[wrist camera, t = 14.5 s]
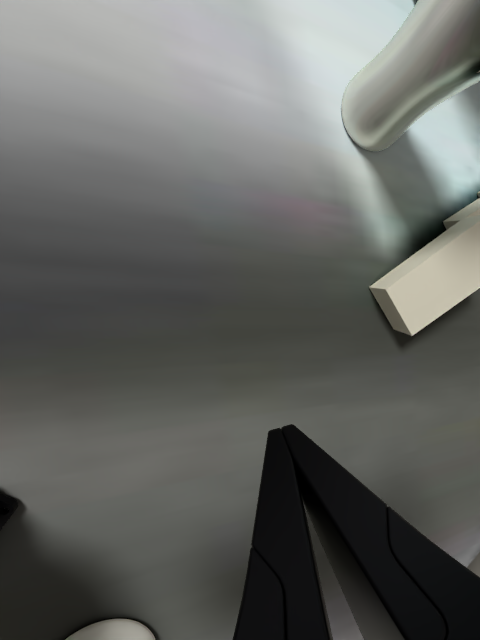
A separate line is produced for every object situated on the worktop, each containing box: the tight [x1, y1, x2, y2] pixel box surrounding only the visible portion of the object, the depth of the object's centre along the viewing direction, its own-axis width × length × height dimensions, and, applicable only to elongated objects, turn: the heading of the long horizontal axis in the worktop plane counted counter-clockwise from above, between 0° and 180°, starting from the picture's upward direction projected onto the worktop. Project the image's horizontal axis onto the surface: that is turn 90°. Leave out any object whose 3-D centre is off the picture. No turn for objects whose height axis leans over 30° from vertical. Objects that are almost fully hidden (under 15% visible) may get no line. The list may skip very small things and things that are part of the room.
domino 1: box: [369, 215, 480, 336], centre depth 21 cm, size 2×5×10 cm
